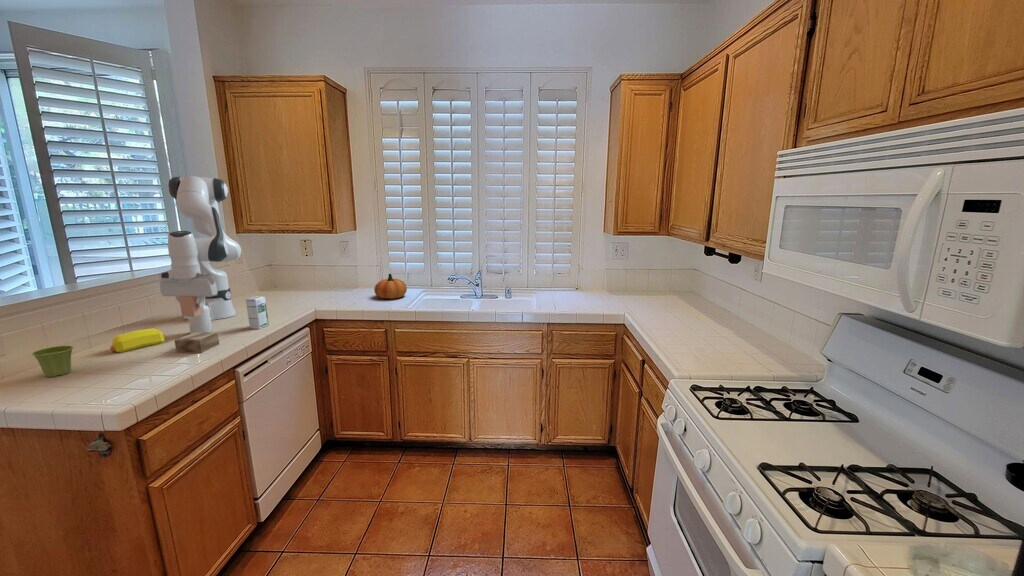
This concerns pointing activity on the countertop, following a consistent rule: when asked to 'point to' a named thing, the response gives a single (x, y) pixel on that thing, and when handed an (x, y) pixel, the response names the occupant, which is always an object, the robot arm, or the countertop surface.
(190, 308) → the terracotta block
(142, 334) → the yellow long rounded bar
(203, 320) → the pill bottle
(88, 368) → the countertop surface
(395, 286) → the pumpkin
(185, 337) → the pedestal
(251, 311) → the syrup box
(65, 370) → the plant pot
